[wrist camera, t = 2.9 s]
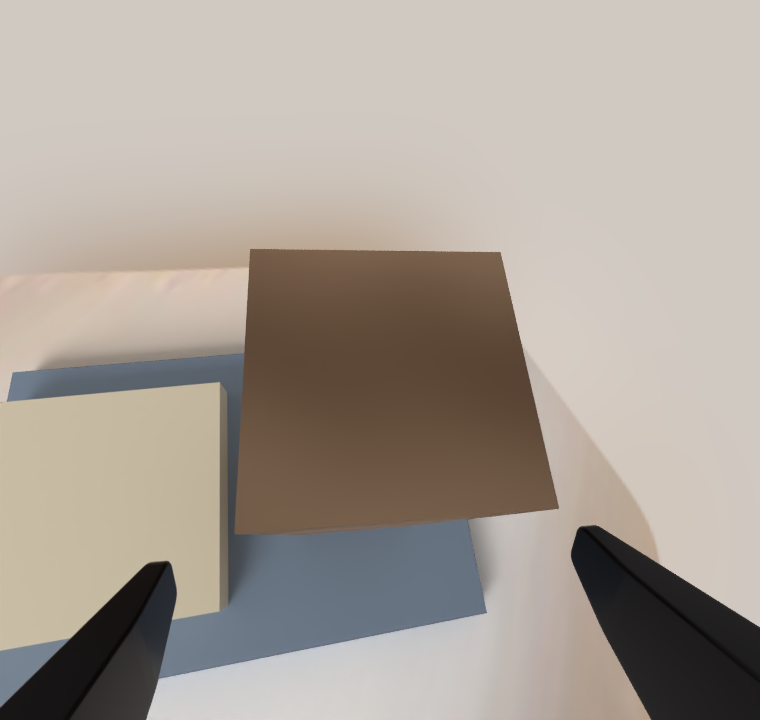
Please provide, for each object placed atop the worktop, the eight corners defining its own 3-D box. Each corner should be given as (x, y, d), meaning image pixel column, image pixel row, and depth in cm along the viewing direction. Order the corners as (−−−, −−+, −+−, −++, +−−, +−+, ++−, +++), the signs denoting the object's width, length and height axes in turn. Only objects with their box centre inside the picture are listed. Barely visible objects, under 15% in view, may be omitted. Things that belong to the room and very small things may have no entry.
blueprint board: (424, 346, 23) (435, 325, 21) (478, 608, 18) (500, 619, 16) (27, 379, 20) (-12, 359, 18) (-36, 710, 15) (-100, 741, 13)
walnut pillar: (409, 526, 18) (558, 508, 7) (296, 535, 18) (234, 533, 6) (399, 417, 20) (500, 252, 8) (296, 422, 20) (249, 248, 8)
